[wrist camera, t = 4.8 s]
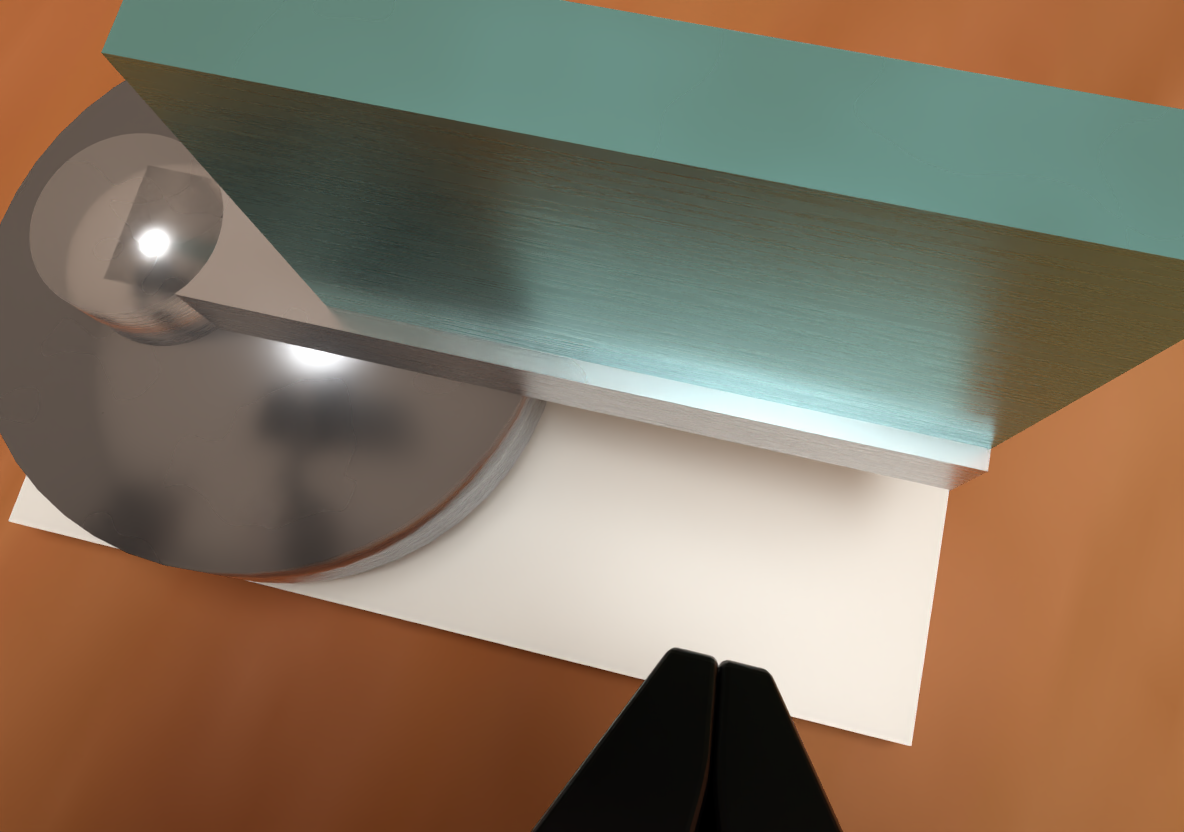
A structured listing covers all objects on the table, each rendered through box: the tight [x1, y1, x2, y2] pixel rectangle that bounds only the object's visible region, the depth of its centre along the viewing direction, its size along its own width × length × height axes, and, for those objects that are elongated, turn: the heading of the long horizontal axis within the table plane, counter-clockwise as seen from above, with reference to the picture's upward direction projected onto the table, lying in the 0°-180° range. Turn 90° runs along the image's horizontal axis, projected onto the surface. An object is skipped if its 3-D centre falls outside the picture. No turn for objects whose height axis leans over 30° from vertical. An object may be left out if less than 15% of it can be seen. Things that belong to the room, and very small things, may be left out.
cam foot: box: [0, 0, 1184, 584], centre depth 12 cm, size 15×9×9 cm, turn 77°
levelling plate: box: [9, 1, 1001, 746], centre depth 17 cm, size 17×12×3 cm
